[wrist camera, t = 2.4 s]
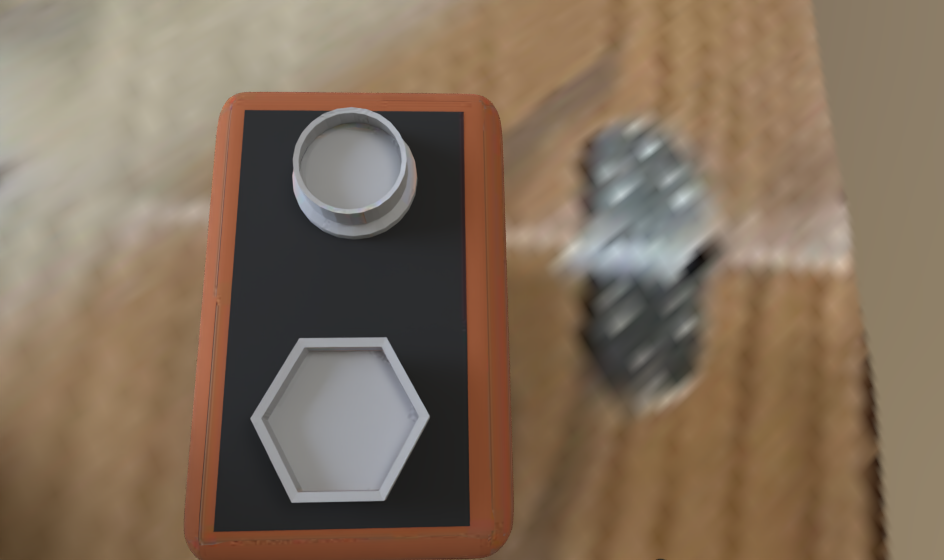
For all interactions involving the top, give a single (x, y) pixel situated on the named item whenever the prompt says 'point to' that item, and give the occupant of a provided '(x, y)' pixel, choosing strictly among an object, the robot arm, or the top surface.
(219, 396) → the battery
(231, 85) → the top surface
